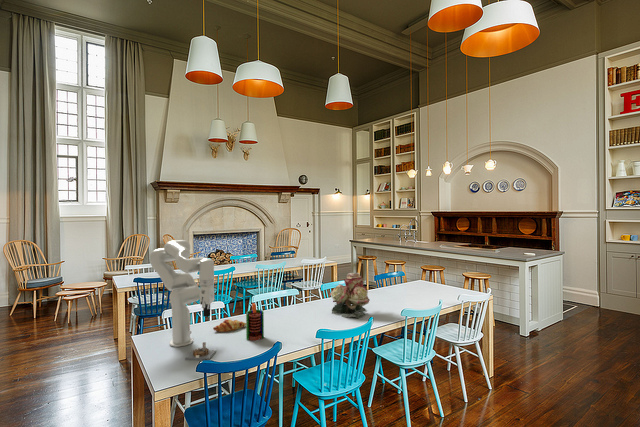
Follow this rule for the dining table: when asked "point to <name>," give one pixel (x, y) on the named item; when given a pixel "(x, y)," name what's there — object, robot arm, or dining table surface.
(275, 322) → the dining table surface
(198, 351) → the sprocket
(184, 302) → the robot arm
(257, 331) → the motor
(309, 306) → the dining table surface
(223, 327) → the croissant
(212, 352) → the base plate
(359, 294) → the rose bouquet
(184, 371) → the dining table surface
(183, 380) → the dining table surface
